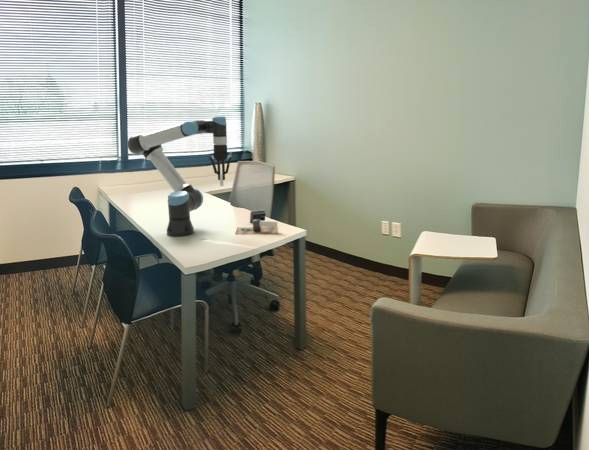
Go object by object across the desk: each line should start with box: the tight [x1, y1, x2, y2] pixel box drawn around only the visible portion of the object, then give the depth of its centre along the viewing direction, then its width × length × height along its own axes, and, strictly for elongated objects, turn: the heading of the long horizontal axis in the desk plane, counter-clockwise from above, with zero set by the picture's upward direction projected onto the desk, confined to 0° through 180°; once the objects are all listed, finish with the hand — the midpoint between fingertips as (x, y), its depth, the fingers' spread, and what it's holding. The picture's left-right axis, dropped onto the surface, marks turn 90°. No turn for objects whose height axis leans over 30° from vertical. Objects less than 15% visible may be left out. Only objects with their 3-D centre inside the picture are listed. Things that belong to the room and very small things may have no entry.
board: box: [234, 226, 279, 236], centre depth 280 cm, size 24×16×2 cm, turn 92°
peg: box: [240, 219, 278, 231], centre depth 279 cm, size 22×4×6 cm, turn 75°
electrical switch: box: [249, 209, 266, 224], centre depth 298 cm, size 9×5×9 cm, turn 113°
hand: (221, 185), depth 280 cm, fingers closed
